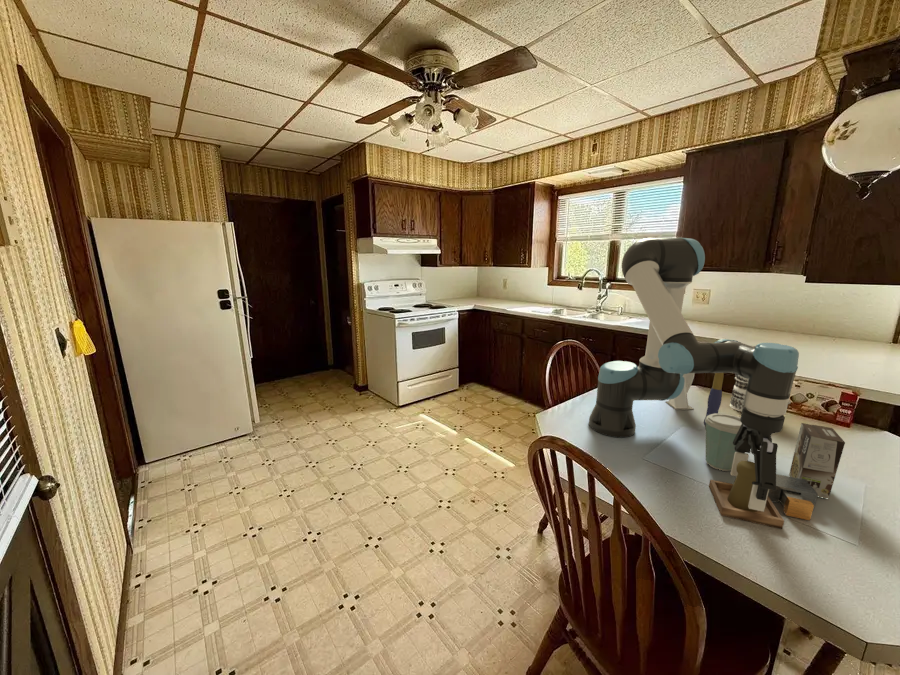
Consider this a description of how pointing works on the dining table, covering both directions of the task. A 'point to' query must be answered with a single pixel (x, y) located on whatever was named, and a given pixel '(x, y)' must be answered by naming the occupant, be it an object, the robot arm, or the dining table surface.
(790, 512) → the orange and gray block
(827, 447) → the coffee box
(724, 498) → the tray
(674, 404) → the skyscraper
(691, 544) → the dining table surface
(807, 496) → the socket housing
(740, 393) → the white patterned cylinder
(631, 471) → the dining table surface
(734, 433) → the disposable coffee cup
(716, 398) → the rubber mallet
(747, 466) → the cork
